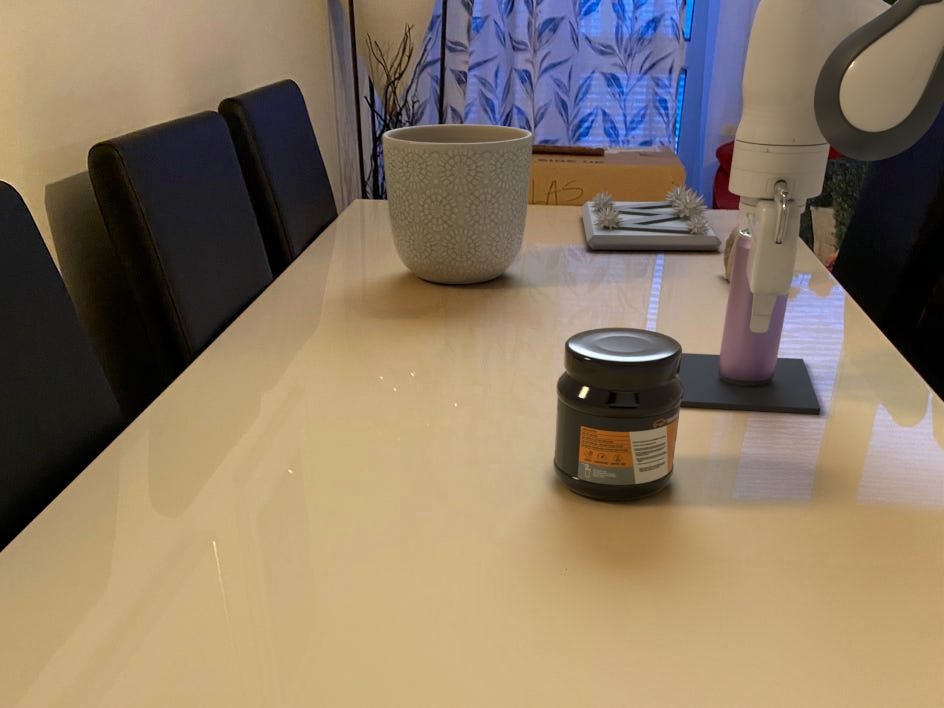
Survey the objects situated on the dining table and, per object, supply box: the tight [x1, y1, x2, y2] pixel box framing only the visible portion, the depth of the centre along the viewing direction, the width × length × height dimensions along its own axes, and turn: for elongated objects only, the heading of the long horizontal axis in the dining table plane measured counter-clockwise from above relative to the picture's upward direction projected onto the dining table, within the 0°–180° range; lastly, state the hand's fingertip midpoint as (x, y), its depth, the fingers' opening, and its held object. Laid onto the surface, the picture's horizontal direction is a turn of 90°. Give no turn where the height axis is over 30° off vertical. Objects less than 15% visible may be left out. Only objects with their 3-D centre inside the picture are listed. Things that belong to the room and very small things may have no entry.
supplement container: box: [552, 327, 684, 501], centre depth 84 cm, size 10×10×12 cm
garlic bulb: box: [722, 223, 739, 282], centre depth 142 cm, size 9×8×10 cm
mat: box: [677, 352, 821, 415], centre depth 107 cm, size 14×16×1 cm
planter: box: [382, 123, 533, 285], centre depth 142 cm, size 21×21×19 cm
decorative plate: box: [580, 182, 723, 251], centre depth 169 cm, size 30×22×7 cm
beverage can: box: [718, 227, 790, 387], centre depth 103 cm, size 6×6×15 cm
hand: (754, 317), depth 103 cm, fingers open, 8 cm apart
